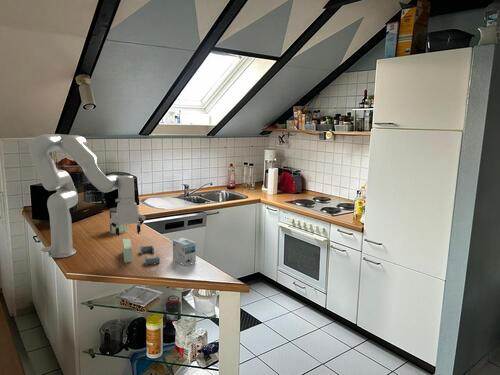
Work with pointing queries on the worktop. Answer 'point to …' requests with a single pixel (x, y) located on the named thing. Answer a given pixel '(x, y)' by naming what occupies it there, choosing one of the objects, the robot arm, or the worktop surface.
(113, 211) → the coffee can
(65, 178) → the robot arm
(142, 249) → the end caps
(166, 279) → the worktop surface
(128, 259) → the slat
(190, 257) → the light bulb box
